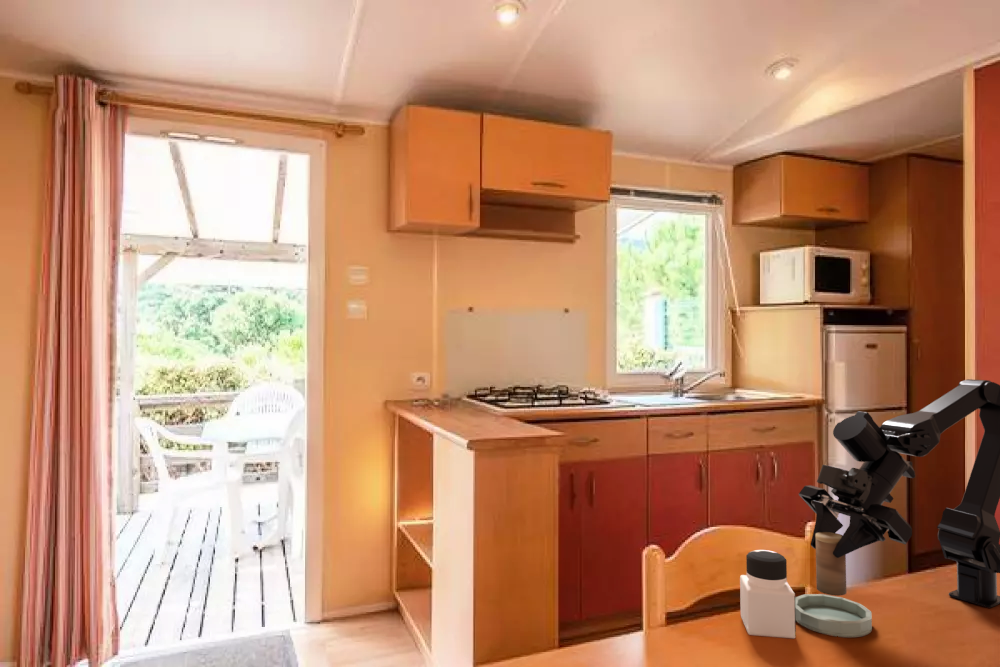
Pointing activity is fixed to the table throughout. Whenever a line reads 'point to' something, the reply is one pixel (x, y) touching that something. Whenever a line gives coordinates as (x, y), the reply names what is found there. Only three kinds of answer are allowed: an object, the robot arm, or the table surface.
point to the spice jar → (829, 565)
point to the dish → (833, 615)
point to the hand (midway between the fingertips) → (823, 551)
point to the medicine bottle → (767, 596)
